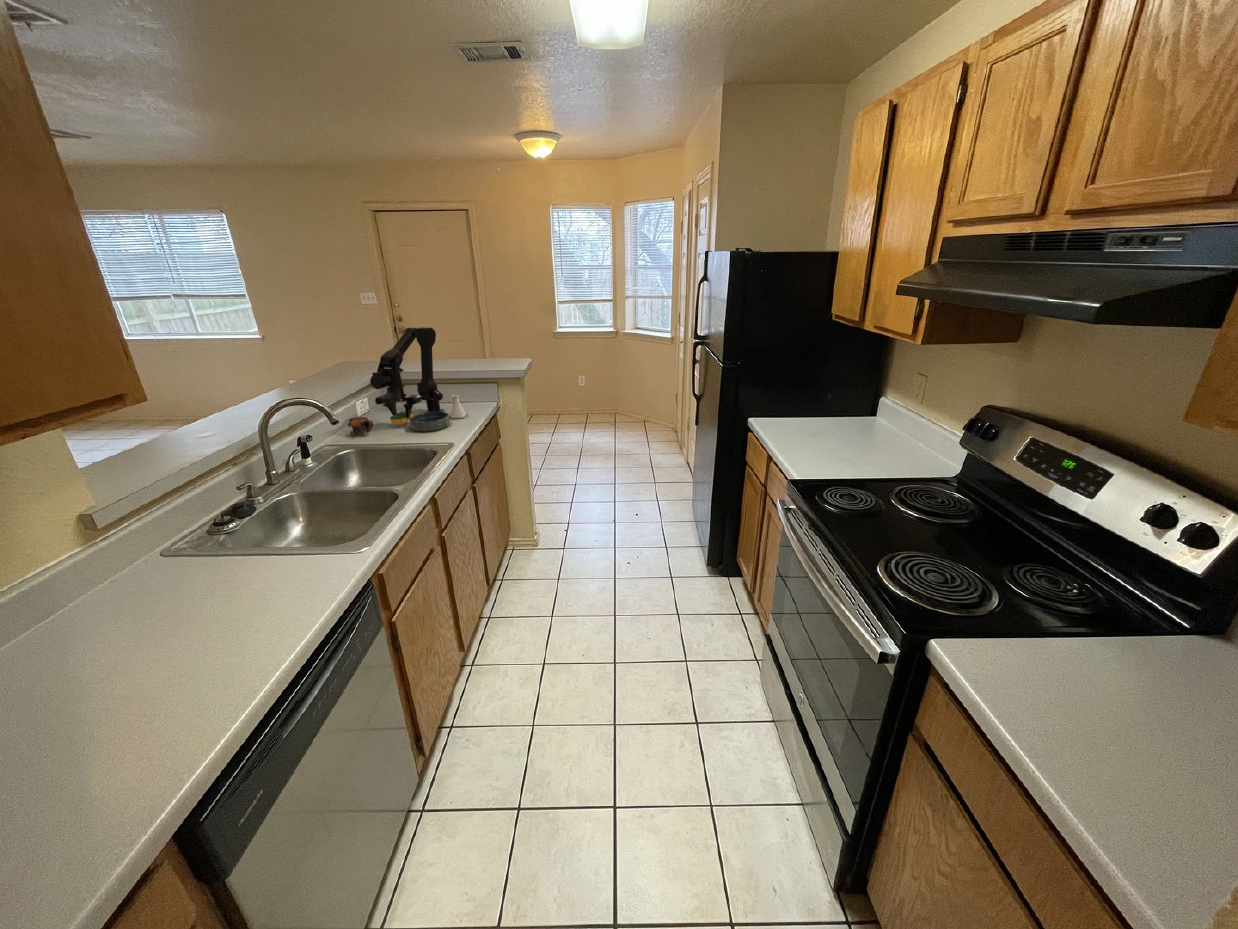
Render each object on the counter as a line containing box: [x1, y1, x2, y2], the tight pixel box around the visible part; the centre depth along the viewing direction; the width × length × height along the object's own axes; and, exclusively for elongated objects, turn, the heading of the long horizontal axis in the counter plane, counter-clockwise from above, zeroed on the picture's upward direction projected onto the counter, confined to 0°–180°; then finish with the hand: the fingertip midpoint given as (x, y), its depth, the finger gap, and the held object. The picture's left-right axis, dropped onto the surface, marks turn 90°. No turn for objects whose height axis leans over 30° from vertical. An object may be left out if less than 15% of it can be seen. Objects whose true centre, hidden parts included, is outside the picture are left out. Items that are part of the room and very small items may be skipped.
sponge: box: [389, 410, 414, 425], centre depth 224 cm, size 9×6×3 cm, turn 173°
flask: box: [450, 394, 467, 419], centre depth 233 cm, size 7×7×10 cm
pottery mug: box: [346, 416, 374, 438], centre depth 215 cm, size 12×10×8 cm
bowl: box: [409, 411, 451, 433], centre depth 221 cm, size 16×16×4 cm
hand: (402, 418), depth 224 cm, fingers closed on sponge, 5 cm apart
